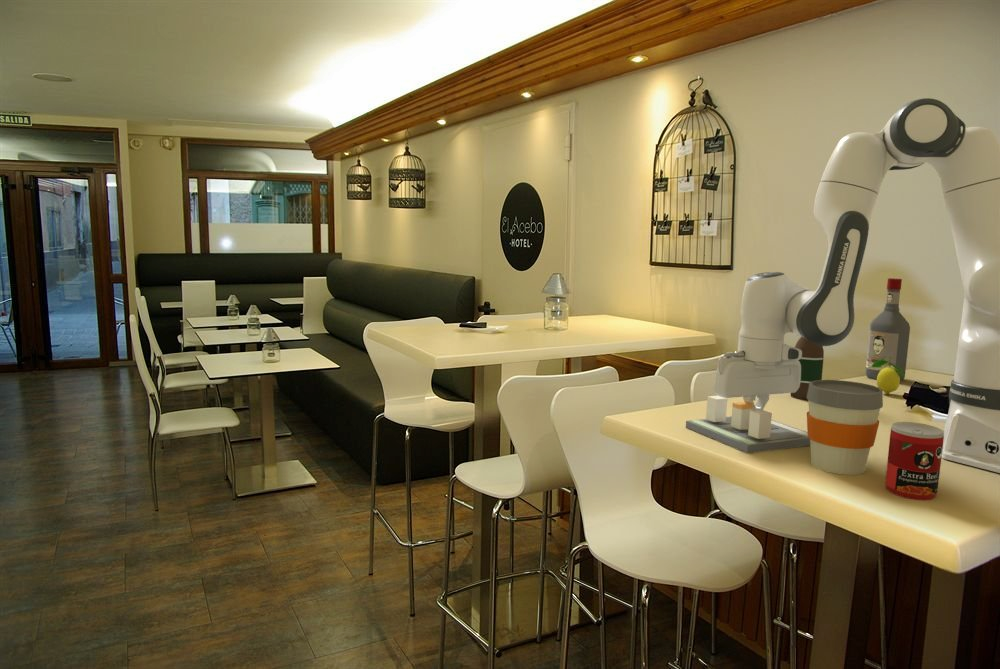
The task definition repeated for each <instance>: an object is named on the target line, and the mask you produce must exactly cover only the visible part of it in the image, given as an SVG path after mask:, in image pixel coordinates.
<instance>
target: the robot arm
mask: <svg viewBox="0 0 1000 669" xmlns="http://www.w3.org/2000/svg"><path fill="white" fill-rule="evenodd" d="M925 163H927V164H928V165H930V166H932V167H933V168H934V170H935V171H936V172H937V174H938V175H937V176H938V177H939V178H940V183H941V189H942V193H943V198H944V203H945V207H946V211H947V215H948V220H949V225H950V228H951V234H952V239H953V243H954V248H955V254H956V258H957V263H958V269H959V272H960V279H961V283H962V287H963V292H964V295H963V296H964V297H963V298H964V299H963V303H962V304H963V305H962V312H961V321H960V327H959V335H958V344H957V350H956V358H955V368H954V375H953V379H952V380H951V381H950V387H949V388H950V389H949V393H948V404H949V407H948V413H947V417H946V422H945V425H944V428H943V429H942V430H943V431H944V440H943V450H942V458H941V459H944V460H946V461H947V460H948V461H951V462H956V463H959V464H962V465H963V464H964V465H967V466H970V467H971V466H972V467H975V468H979V469H981V470H982V469H983V470H986V471H991V472H994V473H997V474H1000V141H999V139H998V137H997V135H996V134H995V132H994V131H993V130H991V129H990V128H987V127H983V126H969V127H966V124H965V122H964V121H963V120H962V119H960V117H958V116H957V115H956V114H955V112H954V111H953V110H952V109H951V108H950V107H949V106H948V105H947V104H946V103H944V102H942V101H941V100H939V99H935V98H931V97H930V98H928V97H924V98H918V99H915V100H911V101H909V102H907V103H905V104H904V105H902V106H901V107H900V108H899V109H898V110H897V111H896V112H895V113H894V114H893V115H892V116H891V117H890V119H889V120H887V122H886V124H885V126H884V127H883V128H882V129H881V130H880V131H878V132H875V133H874V132H873V133H870V132H865V131H859V132H857V131H856V132H852V133H848V134H847V135H845V136H843V137H842V138H840V140H839V141H838V142H837V144H836V146H835V148H834V149H833V151H832V153H831V155H830V157H829V159H828V161H827V163H826V165H825V167H824V168H825V169H824V170H823V173H822V176H821V178H820V182H819V185H818V187H817V190H816V194H815V197H814V204H813V217H814V219H815V222H816V223H817V224H818V225H819V227H820V228H821V229H822V230H823V232H824V233H825V236H826V239H827V243H828V244H827V246H828V248H827V253H826V256H825V261H824V264H823V267H822V272H821V276H820V280H819V283H818V284H819V285H818V286H817V288H816V289H815V290H814V289H811V288H808V287H806V286H804V285H801V284H799V283H797V282H796V281H794V280H793V279H791V278H790V277H788V275H786V274H785V273H784V272H780V271H771V272H770V271H769V272H767V271H766V272H761V273H755V274H752V275H751V276H749V278H747V280H746V281H745V283H744V287H743V292H742V298H741V306H740V320H741V327H740V329H739V332H738V341H737V351H734V352H731V351H726V352H724V354H722V355H721V356H720V357H719V358H718V361H717V366H716V367H717V368H716V371H715V376H714V383H713V393H714V394H715V396H720V397H724V398H727V399H731V398H732V399H733V398H742V399H743V402H746V403H749V404H752V405H753V410H764V408H765V406H766V405H767V404H768V403H769V400H770V395H781V394H791V393H794V392H796V391H797V390H798V388H799V386H800V380H801V364H800V362H799V361H798V360H799V359H801V357H802V351H801V350H800V349H797V348H795V346H791V345H789V344H787V343H784V342H785V341H784V340H785V335H786V334H787V333H792V334H794V335H796V336H799V337H803V338H805V339H807V340H808V341H810V342H811V343H813V344H815V345H819V346H823V347H830V346H833V345H837V344H839V343H840V342H842V341H843V340H845V339H846V338H847V337H848V336H849V334H850V332H851V331H852V329H853V327H854V324H855V305H854V301H855V300H854V298H855V291H856V288H857V287H856V286H857V282H858V278H859V275H860V271H861V268H862V263H863V260H864V255H865V253H866V252H865V251H866V247H867V242H868V237H869V230H870V222H871V219H872V214H873V210H874V208H875V206H876V205H875V204H876V202H877V199H878V195H879V193H880V190H881V186H882V183H883V182H884V179H885V177H886V175H887V173H889V172H888V171H901V170H903V171H904V170H910V169H914V168H917V167H920V166H922V165H923V164H925ZM756 399H757V402H756V404H755V402H754V401H756Z"/></svg>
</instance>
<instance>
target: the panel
mask: <svg viewBox="0 0 1000 669" xmlns="http://www.w3.org/2000/svg"><path fill="white" fill-rule="evenodd" d="M731 419H732V415H731V416H726V421H722V422H713V421H710V420H707V419H706V418H702V419H701V418H700V419H693V420H691V419H690V420H686V421H685V429H688V428H689V429H688V430H690V429H691V430H690V431H693V432H695V431H696V433H698V434H700V433H701V435H702V434H703V436H705V437H707V436H708V437H707V438H710V437H711V438H710V439H712V438H713V439H712V440H715V441H717V440H718V441H717V442H719V441H720V442H719V443H722V444H724V445H727V446H728V447H729V446H730V447H732V448H734V449H736V450H739V451H742V452H743V453H746V454H751V453H758V452H766V451H774V450H775V451H776V450H783V449H791V448H797V447H798V448H799V447H807V446H808V447H809V446H811V444H810V439H809V438H808V431H806V430H803V429H799V428H798V427H793V426H790V425H788V424H785V423H782V422H779V421H776V420H773V419H771V430H770V438H761V439H757V438H755V437H752V436H749V435H748V430H749V429H742V430H740V429H737V428H734V427H732V426H731Z"/></svg>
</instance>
